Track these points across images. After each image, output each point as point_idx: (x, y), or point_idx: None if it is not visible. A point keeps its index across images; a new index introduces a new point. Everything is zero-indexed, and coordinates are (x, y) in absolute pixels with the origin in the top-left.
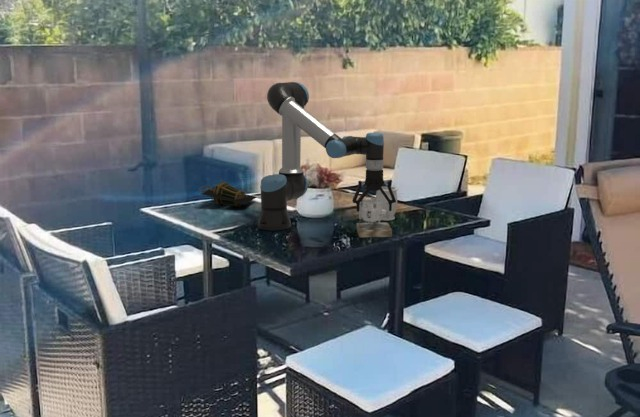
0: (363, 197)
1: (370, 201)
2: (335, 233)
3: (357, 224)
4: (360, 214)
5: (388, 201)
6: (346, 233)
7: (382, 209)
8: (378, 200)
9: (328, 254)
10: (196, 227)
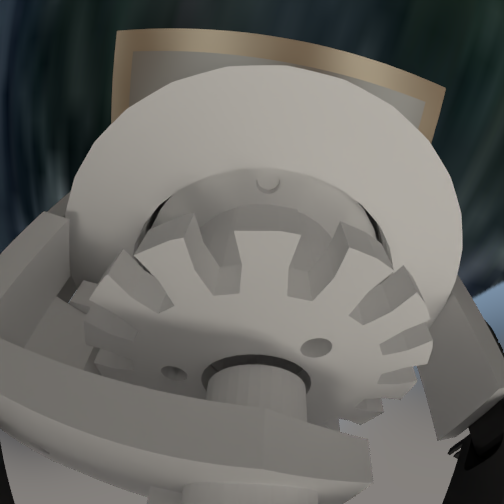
0: (6, 498)
1: (146, 494)
2: (12, 146)
3: (115, 91)
4: (72, 282)
5: (460, 472)
6: (64, 150)
7: (453, 205)
8: (336, 498)
9: None
10: None
